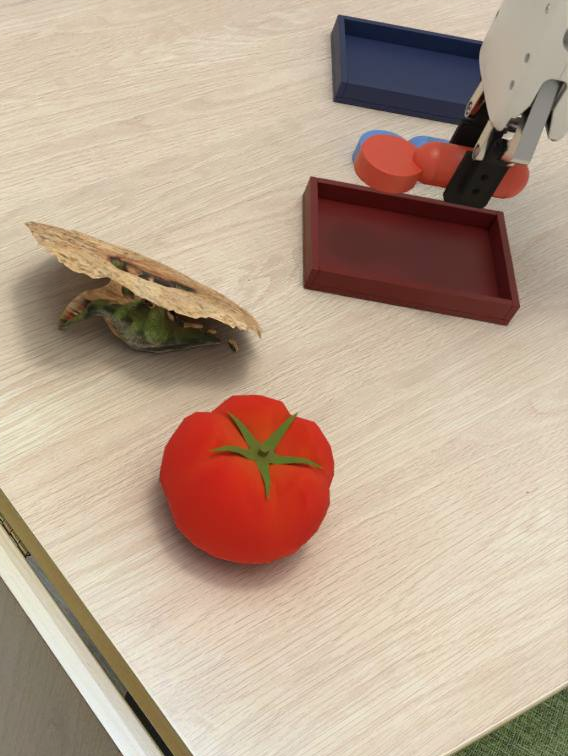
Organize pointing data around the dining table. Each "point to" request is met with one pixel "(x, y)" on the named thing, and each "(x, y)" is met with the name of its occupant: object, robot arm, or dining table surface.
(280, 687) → the dining table surface
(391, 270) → the red tray
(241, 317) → the sandwich
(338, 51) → the blue tray
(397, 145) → the red spoon
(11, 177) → the dining table surface
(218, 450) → the tomato
